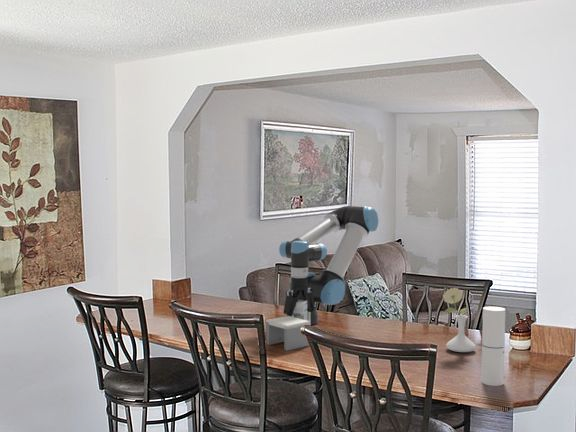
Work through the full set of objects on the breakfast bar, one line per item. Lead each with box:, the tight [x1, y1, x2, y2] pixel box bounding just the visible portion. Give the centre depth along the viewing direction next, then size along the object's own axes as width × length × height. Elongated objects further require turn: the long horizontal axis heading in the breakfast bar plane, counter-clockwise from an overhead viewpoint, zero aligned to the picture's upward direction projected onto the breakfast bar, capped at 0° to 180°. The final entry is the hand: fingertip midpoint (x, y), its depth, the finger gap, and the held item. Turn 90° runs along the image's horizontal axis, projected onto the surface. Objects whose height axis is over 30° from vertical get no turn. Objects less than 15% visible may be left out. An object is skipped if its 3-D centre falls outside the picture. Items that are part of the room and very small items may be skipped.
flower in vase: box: [442, 287, 477, 353], centre depth 261 cm, size 13×11×25 cm
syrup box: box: [292, 300, 307, 320], centre depth 289 cm, size 6×6×14 cm
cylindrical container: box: [480, 306, 506, 387], centre depth 222 cm, size 7×7×25 cm
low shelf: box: [265, 315, 310, 351], centre depth 270 cm, size 13×12×10 cm
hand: (299, 328), depth 289 cm, fingers open, 9 cm apart
